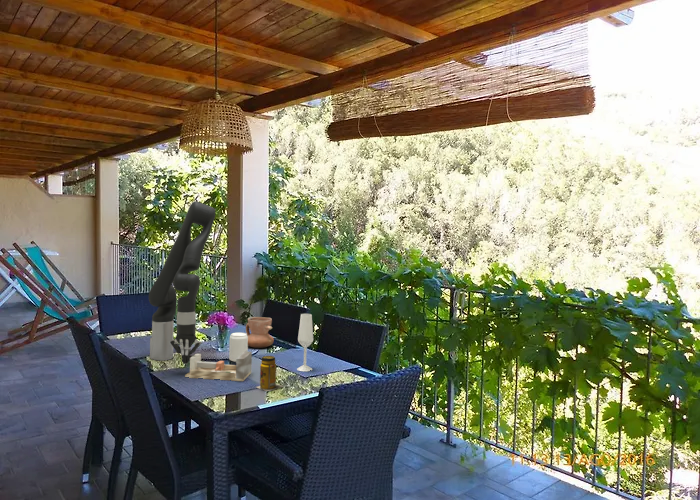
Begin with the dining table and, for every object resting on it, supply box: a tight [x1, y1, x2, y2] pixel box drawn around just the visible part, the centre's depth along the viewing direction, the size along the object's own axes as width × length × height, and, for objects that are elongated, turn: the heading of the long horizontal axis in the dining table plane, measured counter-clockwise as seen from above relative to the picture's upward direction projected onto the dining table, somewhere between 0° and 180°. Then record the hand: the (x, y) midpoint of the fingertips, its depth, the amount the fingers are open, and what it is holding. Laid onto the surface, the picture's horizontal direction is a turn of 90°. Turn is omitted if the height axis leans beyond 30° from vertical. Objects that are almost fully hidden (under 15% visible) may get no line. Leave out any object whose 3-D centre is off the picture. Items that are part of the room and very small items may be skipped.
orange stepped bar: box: [215, 360, 225, 371], centre depth 223 cm, size 2×8×3 cm, turn 175°
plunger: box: [189, 353, 218, 371], centre depth 225 cm, size 10×7×6 cm
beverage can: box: [228, 332, 249, 363], centre depth 249 cm, size 8×8×12 cm
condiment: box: [256, 355, 284, 392], centre depth 212 cm, size 7×8×12 cm
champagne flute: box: [296, 313, 314, 372], centre depth 237 cm, size 7×7×24 cm
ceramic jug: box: [245, 316, 275, 349], centre depth 276 cm, size 18×14×14 cm
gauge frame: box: [184, 351, 253, 382], centre depth 225 cm, size 24×12×9 cm, turn 85°
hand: (185, 363), depth 226 cm, fingers closed
